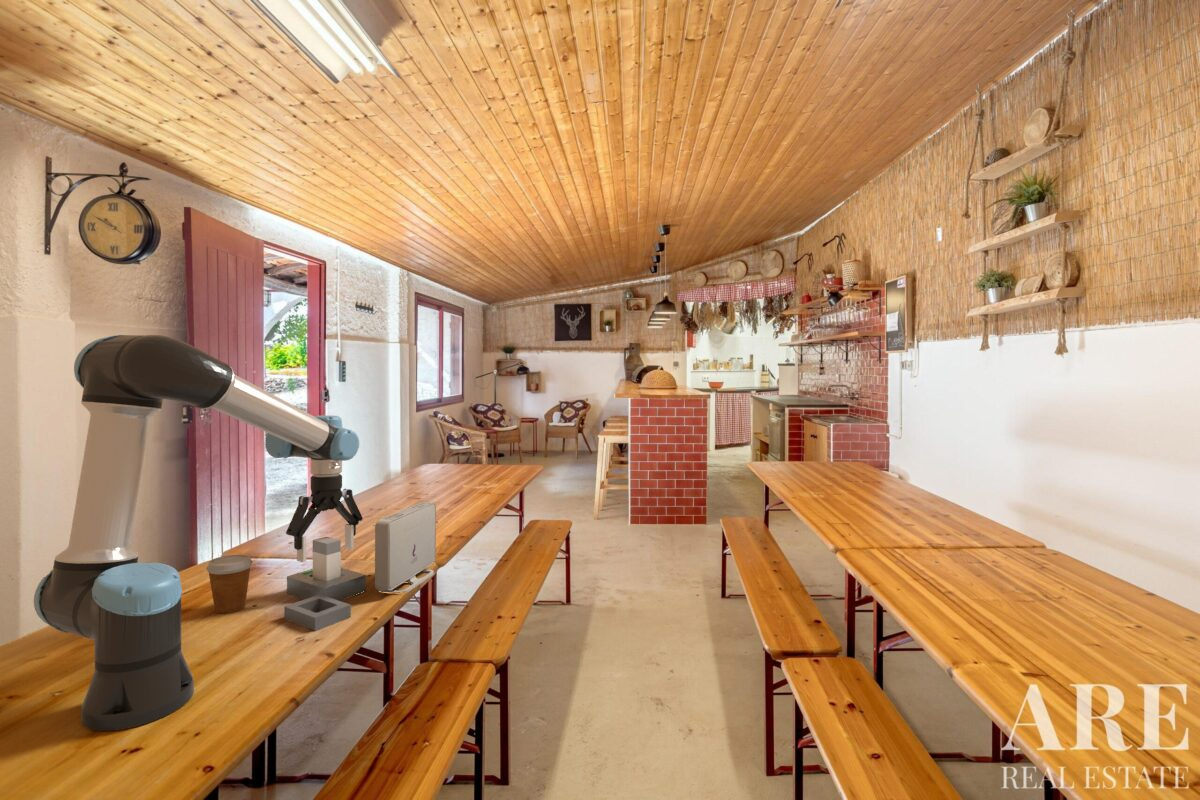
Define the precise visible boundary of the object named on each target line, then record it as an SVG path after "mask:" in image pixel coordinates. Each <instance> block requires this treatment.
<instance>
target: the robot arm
mask: <svg viewBox="0 0 1200 800" xmlns="http://www.w3.org/2000/svg"><path fill="white" fill-rule="evenodd" d="M73 373H74V377H75V380H76V382H78V383H79V385H80V387H81V388H82V389H83V390H82V397H81V401H80V404H81V405H82V406H83V407H84V408H85V409H86V410H87V411H88V412H89V414H90V417H89V423H88V428H87V434H86V440H85V446H84V452H83V456H82V457H83V458H82V464H81V469H80V470H81V471H80V476H79V480H78V481H79V482H78V488H77V495H76V498H75V499H76V500H75V506H74V510H73V511H74V512H73V517H72V524H71V527H70V534H69V541H68V546H67V547H66V548H65V549H64V550H62V551H61V552H60V553H59V554H57V555H55V557H54V560H53V566H52V567H53V568H52V569H51V570H50V571H49V573H48V574H47V575H46V576H44V577H43V578H42V579H41V580H40V581H39V583H38V585H37V587H36V589H35V591H34V597H33V606H34V607H33V608H34V611H35V612H36V615H37V616H38V618H39V619H40V620H41V621H42V622H43V623H45V624H47V625H48V626H50V627H52V628H54V629H55V630H57V631H59V632H62V633H67V634H68V633H70V634H73V635H76V636H81V637H82V638H86V639H89V640H93V642H94V643H93V645H94V646H93V647H94V673H93V676H92V677H91V681H90V683H89V685H88V689H87V691H86V694H85V696H84V700H83V702H82V704H81V709H80V712H81V714H80V716H81V719H80V721H81V725H82V726H83V727H84V728H86V729H88V730H91V731H96V732H98V731H101V732H107V731H108V732H109V731H112V732H113V731H119V730H126V729H130V728H134V727H137V726H139V727H140V726H142V725H145V724H149V723H151V722H154V721H156V720H159V719H161V718H164V717H167V716H168V715H170V714H172V713H174V712H175V711H177V710H178V709H180V708H182V707H183V706H185V704H187V703H188V702H189V701H190V699H191V700H192V697H193V695H194V694H195V693H194V692H195V684H194V683H195V682H194V676H193V674H192V672H191V670H190V668H189V666H188V663H187V661H186V659H185V656H184V655H183V651H182V596H183V588H182V584H181V577H180V573H179V572H178V570H176V569H175V568H174V567H173V566H171V565H168V564H165V563H160V562H150V563H146V562H139V555H140V554H139V552H137V551H136V550H135V549H134V548H133V547H132V545H131V540H132V533H133V527H134V521H135V513H136V509H137V502H138V495H139V488H140V483H141V478H142V477H141V475H142V469H143V463H144V456H145V451H146V445H147V439H148V432H149V431H148V430H149V425H150V420H151V418H152V417H153V416H155V415H157V414H158V413H160V412H161V411H162V407H163V400H170V401H175V402H180V403H183V404H188V405H191V406H193V407H195V408H197V409H200V410H208V409H213V410H216V411H217V412H220V413H222V414H224V415H226V416H229V417H230V418H234V419H236V420H237V421H240V422H243V423H245V424H247V425H249V426H252V427H254V428H256V429H258V430H260V431H263V432H264V433H266V436H265V439H264V440H265V443H264V444H265V450H266V452H267V453H268V455H269V456H271V457H272V458H275V459H282V458H283V459H288V458H295V457H296V458H304V459H305V458H307V459H310V466H309V467H310V470H309V471H310V472H309V473H310V474H311V476H310V490H311V494H310V496H305V495H304V496H303V495H300V496H299V497H298V504H297V507H296V509H295V512H294V513H293V516H292V518H291V520H290V522H289V525H288V527H287V529H286V532H285V534H286V535H288V536H292V537H293V539H294V540H293V548H294V550H296V561H297V562H299V563H306V562H307V535H305V533H306V532H307V531H308V529H309V528H310V526H311V524H312V523H313V522H314V521H315V519H316V517H317V516H318V515H319V514H320V513H321V512H326V511H328V510H335V511H337V513H338V514H339V515H340V516H341V517H342V519H344V520H345V522H347V523H345V524H344V549H346V550H347V549H348V550H354V546H355V544H354V537H355V536H356V533H357V531H356V530H357V526H358V525H359V522H361V521H363V516H362V514H361V512H360V509H359V507H358V505H357V503H356V501H355V498H354V496H353V494H354V493H353V490H352V489H348V488H343V475H342V474H341V473H343V461H349V460H352V459H353V458H354V457H355V456H356V455H357V453H358V451H359V449H360V439H359V436H358V434H357V433H356V432H355V431H354V430H352V429H348V428H345V427H343V420H342V418H341V417H340V415H312V414H310V413H308V412H306V411H304V410H303V409H301V408H299V407H298V406H296V405H293V404H291V403H290V402H287V401H286V400H284V399H282V398H280V397H279V396H276V395H275V394H273V393H271V392H269V391H267V390H265V389H263V388H261V387H259V386H257V385H255V384H253V383H251V382H250V381H248V380H246V379H244V378H242V377H240V376H238V375H236V374H235V371H234V368H232V366H230V365H229V364H227V363H226V362H224V361H223V360H222V361H221V359H219V358H217V357H214V356H212V355H211V354H209V353H207V352H205V351H203V350H201V349H199V348H197V347H196V346H193V345H191V344H189V343H187V342H185V341H182V340H180V339H177V338H175V337H172V336H167V335H162V334H147V335H145V334H144V335H142V334H141V335H139V334H137V335H136V334H135V335H133V334H131V335H130V334H129V335H128V334H117V335H109V336H106V337H100V338H98V339H96V340H92V342H90V343H87V344H86V345H85V346H84V347H83V348H82V349H81V350H80V351H79V353H78V354H77V356H76V358H75V361H74V364H73ZM342 488H343V490H342ZM342 498H343V500H344V502H345V504H346V506H347V508H346V507H345V505H344V504H343V503H342V501H341V499H342ZM310 504H311V505H310ZM309 505H310V506H309ZM308 507H309V508H308Z"/></svg>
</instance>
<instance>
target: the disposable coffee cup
mask: <svg viewBox="0 0 1200 800" xmlns="http://www.w3.org/2000/svg"><path fill="white" fill-rule="evenodd" d="M252 565H253V560H252V557H251V555H248V554H242V553H241V554H239V553H237V554H229V555H221V556H219V557H216V558H215V557H214V558H213V559H211V560H209V561H208V565H207V566H206V567H205V568H206V571H207V573H208V575H209V582H210V587H211V588H210V589H211V595H212V602H213V607H214V612H215V613H217V614H218V613H219V614H227V613H228V614H229V612H230V613H235V612H238V611H240V610H242V609H244V608H246V602H247V597H248V596H247V595H248V589H249V588H248V586H249V580H250V573H251V567H252ZM234 611H235V612H234Z"/></svg>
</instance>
